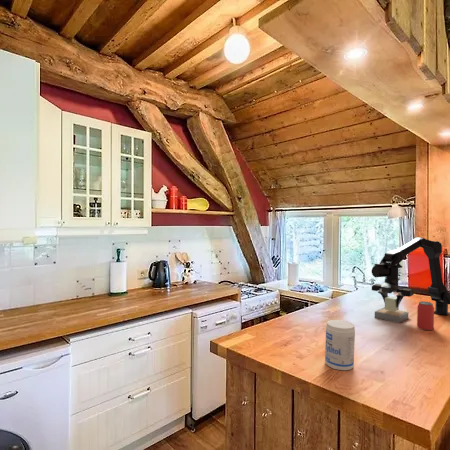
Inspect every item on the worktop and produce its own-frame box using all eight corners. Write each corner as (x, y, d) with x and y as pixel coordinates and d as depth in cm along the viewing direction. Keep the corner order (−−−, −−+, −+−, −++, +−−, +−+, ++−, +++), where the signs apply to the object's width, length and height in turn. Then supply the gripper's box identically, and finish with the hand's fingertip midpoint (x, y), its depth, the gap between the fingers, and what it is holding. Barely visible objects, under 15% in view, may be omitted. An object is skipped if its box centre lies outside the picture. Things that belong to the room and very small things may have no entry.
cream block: (388, 307, 172) (388, 296, 172) (398, 309, 168) (398, 298, 168) (384, 309, 168) (384, 297, 168) (394, 311, 165) (395, 299, 165)
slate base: (384, 312, 177) (384, 307, 177) (408, 318, 168) (408, 311, 168) (374, 317, 169) (374, 311, 169) (399, 323, 160) (399, 316, 160)
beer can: (436, 331, 149) (436, 305, 148) (420, 330, 150) (420, 304, 150) (430, 326, 155) (430, 301, 155) (414, 325, 156) (415, 300, 156)
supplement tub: (320, 365, 114) (321, 324, 114) (331, 356, 121) (331, 317, 121) (348, 374, 108) (349, 330, 107) (358, 364, 115) (358, 323, 115)
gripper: (367, 275, 169) (366, 305, 170) (406, 281, 155) (405, 313, 156) (376, 273, 177) (375, 301, 177) (414, 278, 163) (413, 309, 163)
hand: (391, 306), depth 168 cm, fingers closed on cream block, 5 cm apart
